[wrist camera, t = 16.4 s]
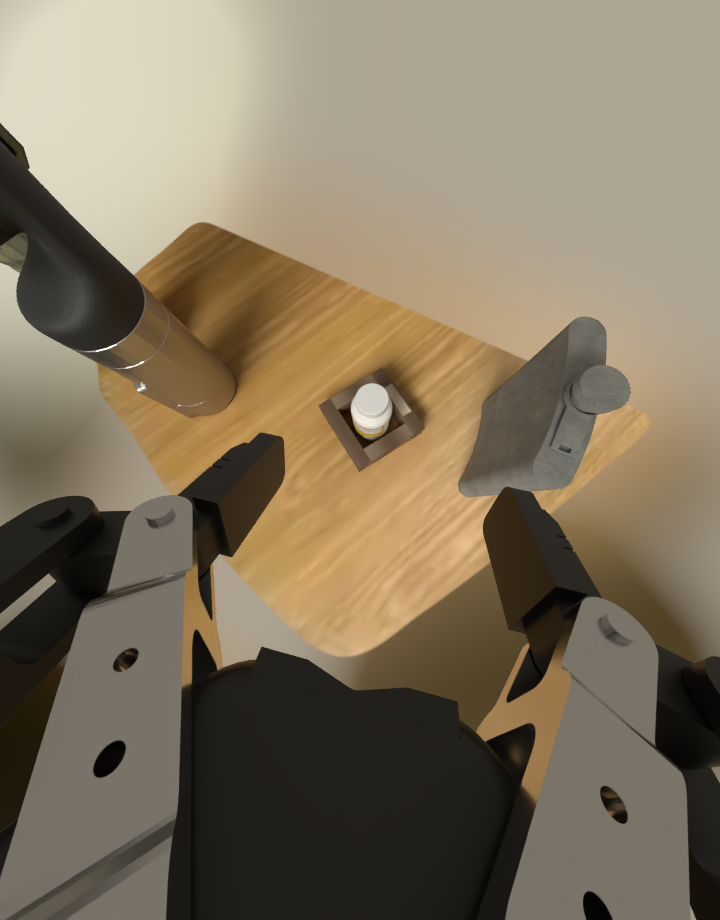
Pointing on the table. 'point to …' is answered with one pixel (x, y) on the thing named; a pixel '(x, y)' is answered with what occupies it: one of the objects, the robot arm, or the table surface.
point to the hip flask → (545, 415)
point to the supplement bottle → (371, 411)
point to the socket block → (386, 444)
